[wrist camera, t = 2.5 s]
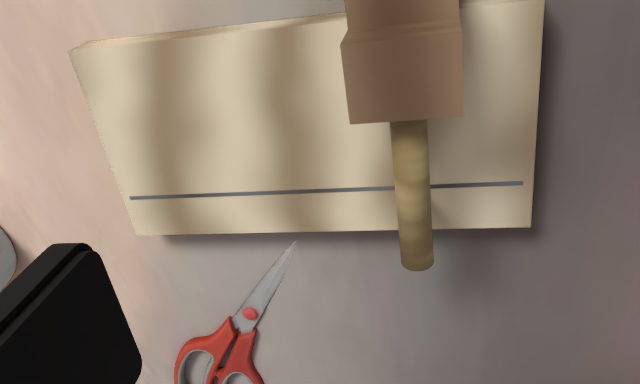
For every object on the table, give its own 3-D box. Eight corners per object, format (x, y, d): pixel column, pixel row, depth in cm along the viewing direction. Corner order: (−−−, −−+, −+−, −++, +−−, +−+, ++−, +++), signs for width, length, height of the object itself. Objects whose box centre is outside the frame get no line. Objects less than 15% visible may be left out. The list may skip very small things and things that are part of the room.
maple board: (536, -10, 25) (544, -1, 23) (525, 207, 31) (530, 227, 29) (87, 41, 30) (67, 51, 28) (150, 218, 36) (136, 235, 34)
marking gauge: (452, -34, 24) (461, -4, 18) (457, 202, 31) (465, 287, 24) (358, -22, 25) (335, 11, 19) (381, 205, 32) (369, 287, 25)
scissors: (322, 220, 34) (318, 233, 33) (259, 410, 45) (255, 425, 44) (210, 183, 34) (202, 195, 33) (175, 382, 45) (168, 396, 44)
